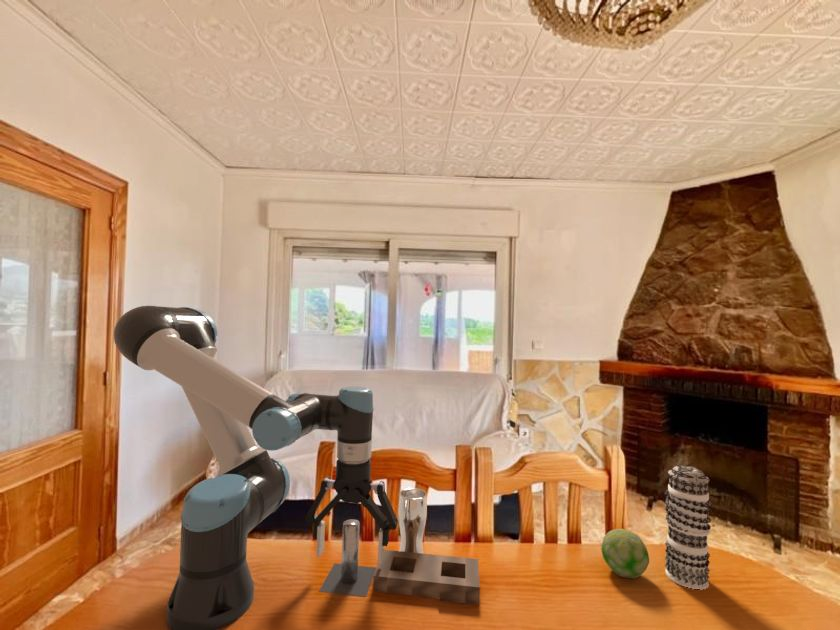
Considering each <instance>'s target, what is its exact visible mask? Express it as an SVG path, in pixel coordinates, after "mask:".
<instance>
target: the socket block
mask: <svg viewBox="0 0 840 630" xmlns="http://www.w3.org/2000/svg"><path fill="white" fill-rule="evenodd" d="M375 568H376V571H375V573H374V577H373V579H372V582H373V583H372V586H373V587H372V591H373V592H376V593H377V592H378V593H386V594H392V595H394V594H395V595H404V596H412V597H420V598H429V599H439V601H442V602H450V603H451V602H452V603H459V604H468V605H477V606H479V605H480V593H481V592H480V590H481V586H480V569H479V568H480V566H479V558H473V557H472V558H469V557H462V556H461V557H460V556H452V555H441V554H432V553H431V554H430V553H424V552H423V553H413V552H403V551H399V550H393V549H392V550H389V549H384V557H383V560H382V563H381V564H380V563H378V562H377V566H376V567H375Z"/></svg>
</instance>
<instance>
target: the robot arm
mask: <svg viewBox="0 0 840 630" xmlns="http://www.w3.org/2000/svg"><path fill="white" fill-rule="evenodd" d="M217 337H218V327H217V325H216V323H215V321H214V320H213V318H212V317H211V316H210V315H209V314H208V313H206V312H204V311H202V310H200V309H197V308H195V309H194V308H191V307H186V306H184V307H183V306H182V307H173V306H172V307H171V306H157V305H142V306H137V307H135V308H131V309H130V310H128V311H126V312H125V313H124V314H123V315H122V316H120V318H119V319H118V321H117V322H116V323H115V326H114V330H113V341H114V344H115V347H116V348H117V350H118V351H119V353H120V354H121V355H122V356H123V357H124V358H125V359H126V360H128V361H129V362H131V363H132V364H134V365H136V366H137V367H139V368H140V369H142V370H144V371H153V370H155V371H156V372H158V373H159V374H161V375H163V376H164V377H165V378H166V379H167V378H168V379H169V380H171V381H172V382H173V383H176V384H178V385H179V386H180V387H181V388H182V390H183V392H184V394H185V396H186V399H187V400H188V403H189V404H190V405H189V406H191V408H192V410H193V414H194V415H195V418H196V420H197V422H198V424H199V426H200V428H201V430H202V432H203V434H204V436H205V438H206V441H207V442H208V445H209V447H210V449H211V451H212V453H213V456H214V457H215V460H216V462H217V463H218V466H219V467H218V470H217V472H216V476H215V477H209V478H205V479H204V480H202V481H200V482H198V483H196V484H195V485H193V487H191V488H190V489H189V491H187V493H186V494H185V496H184V499H183V504H182V510H181V514H180V522H181V525H180V526H181V529H180V548H179V549H180V554H179V557H180V558H179V572H178V575H177V579H176V580H175V583H174V586H173V587H172V592H171V593H170V597H169V598H168V601H167V604H166V605H167V606H166V614H165V615H166V616H165V619H166V624H167V627H169V628H170V630H220V629H223V628H224V627H226V626H229V625H230V624H232V623H234V622H235V621H237V620H238V619H240V618H241V617H242V616H244V615H245V613H247V611H248V610H249V609H250V608H251V606H252V604H253V601H254V597H255V583H254V580H253V578H252V574H251V570H250V568H249V565H248V564H249V563H248V561H247V546H248V535H249V533H250V532H251V531H252V530H254V528H256V527H257V526H258V525H259V524H260V523H261V522H263V520H265V519H266V518H267V517H268V516H271V514H273V513H275V512H276V511H277V510H278V509H279V508H280V506H281V505H282V504H283V503H284V502H285V500H286V498H287V497H288V494H289V491H290V487H291V478H290V474H289V470H288V469H287V467H286V466H285V464H284V463H282V461H280V460H278V459H276V458H273V457H271V456H270V455H269V452H268V451H270V452H272V451H273V452H274V451H279V450H282V449H283V448H286V447H289V446H291V445H293V444H294V443H295V442H296V441H297V440H299V439H301V438H302V437H304V436H306V435H308V434H310V433H311V432H313V431H315V430H324V431H325V430H326V431H336V433H337V434H336V435H337V440H336V441H337V442H336V443H337V444H336V458H337V459H336V465H335V466H336V468H335V479H331V478H330V476H326V477H324V479H322V481H321V482H320V489H319V491H318V493H317V495H316V497H315V499H314V501H313V502H312V504H311V506H310V508H309V509H308V512H307V514H306V515H305V517H304V521H305V522H307V523H309V522H310V523H312V525H313V529H312V530H313V531H312V538H313V540H316V558H320V557H321V556H322V554H323V552H324V551H325V535H326V534H325V533H326V532H325V531H326V521H325V520H323V519H324V518H325V517H326V516H327V515H328V514H329V513H330V512H331V511H332V509H333V508H334V507H335V506H336V505H337V504H338V503H339V502H340V501H342V502H343V503H344V504H350V503H352V504H355V505H359V504H360V503H361V505H362V507H364V508H366V510H367V512H368V513H369V514H370V515H371V517H372V518H373V520H374V521H375V522H376V524H377V525H378V526H379V528H380V529H379V531H378V540H377V541H378V545H377V546H378V548H377V564H378V563H380V564H381V563H382V560H383V557H384V550H385V547H387V546H388V544H389V542H390V531H392V530H393V531H395V530H396V529H397V527H398V525H399V519H398V518H397V515H396V513H395V511H394V509H393V506H392V503H391V502H390V499H389V497H388V494H387V492H386V486H385V485H386V484H385V481H384V480H381V481H379V482H373V483H372V480H371V472H372V471H371V470H372V468H371V467H372V460H371V459H370V458H372V445H373V444H372V443H373V442H372V441H373V436H372V435H373V434H372V433H373V418H374V404H373V403H374V398H373V397H374V395H373V390H371V389H370V388H368V387H365V386H344V387H342V388H340V390H339V393H338V395H337V394H336V395H331V394H330V395H329V394H317V393H316V394H315V393H308V392H303V393H292V394H290V395H289V396H288V397H287V398H288V399H286V400H284V399H282V398H281V397H279V396H277V395H275V394H274V393H272V392H270V391H269V390H267V389H265V388H263V386H261V385H259V384H257V383H255V382H254V381H252V380H250V379H249V378H247V377H245V376H243V375H242V374H240V373H238V372H237V371H235V370H234V369H231V368H230V367H228V366H226V364H223V363H222V362H220V361H219V360H216V359H215V355H216V354H217V352H218V348H217V346H216V343H217ZM250 430H252V434H251V432H250ZM332 487H333V488H334V491H335V492H336V495H335V496H334V497H333V498H332V499H331V500H330V501H329V502H328V504H327V505H325V507H323V509H322V510H321V511H320V512H319V514H316V513H317V511H318V509H319V508H320V505H321V504H322V502H323V500H324V498H325V497H326V495H327V493H328V491H330V489H331V488H332ZM371 490H372V491H374V494H375V495H377V499H378V501H379V503H380V506H381V508H382V510H383V512H382V510H381V509H380V508H379V506H378V504H377V503H376V502H375V501H374V499H373V496H372V495H371V493H370V492H371Z"/></svg>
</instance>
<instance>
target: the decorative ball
mask: <svg viewBox="0 0 840 630" xmlns="http://www.w3.org/2000/svg"><path fill="white" fill-rule="evenodd" d="M601 541H602V542H601V547H600V549H601V553H602V558H603V560H604V562H605V563H606V565H607V566H608V568H609V569H610V570H611V571H612V572H614V573H615V574H616V575H618V576H620V577H621V578H624V579H625V578H627V579H628V578H629V579H636V578H638V577H641V576H643V573H645V571H646V570H647V568H648V566H649V564H650V556H649V552H648V551H649V550H648V548H647V547H646V545H645V543H644V541H643V540H642V538H641V537H640V536H639V535H638V534H636V533H635V532H632V531H631V530H628V529H625V528H614V529H612V530H609V531H608V532H607V533H606V534H605V536H603V538H602V540H601Z"/></svg>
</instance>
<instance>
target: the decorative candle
mask: <svg viewBox="0 0 840 630" xmlns="http://www.w3.org/2000/svg"><path fill="white" fill-rule="evenodd" d="M667 473H668V475H669V477H668V479H669V480H668V481H669V482H668V484H667V489H666V490H665V492H664V496H665V498H666V499H665V502H664V504H665V505H666V506H665V509H664V510H665V513H666V515H665V516H666V517H665V521H666V522H665V523H666V525H667V527H668V528H667V532H668V533H667V534H666V536H667V537H666V541H665V546H666V549H664V551H665V553H666V555H664V560H665V563H664V566H665V569H664V572H665V575H666V577H667V578H669V580H670V581H672V582H674V583H675V584H677V585H679V586H681V585H682V587H683V586H684V587H683V588H686V587H688V588H687V589H690V588H692V589H691V590H694V589H700V590H699V591H704V590H707V589H708V588H709V586H710V583H709V579H710V576H709V574H710V571H711V569H710V568H709V565H710V564H711V562H710V560H709V559H710V557H711V554H710V553H709V545H708V536H709V535H710V533H711V531H710V530H711V528H712V526H711V525H710V524H709V523H711V520H712V519H711V518H710V517H709V515H711V514H712V513H713V511H712V509H710V508H711V507H712V506H713V504H712V503H713V502H711V501H710V500H709V499H710V493H709V490H708V489H709V482H710V481H711V480H710V478H709V477H708V476H706V474H705V473H704V472H703V471H702V470H700V469H699V468H696V467H693V466H690V465H689V466H688V465H675V466H674V467H672V469H669V470H668V471H667ZM706 588H707V589H706ZM703 589H704V590H703Z"/></svg>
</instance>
